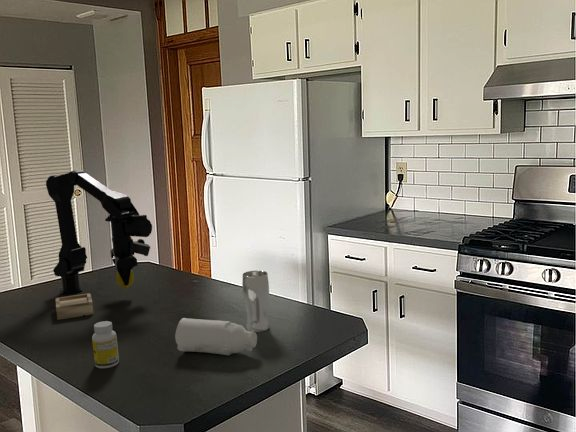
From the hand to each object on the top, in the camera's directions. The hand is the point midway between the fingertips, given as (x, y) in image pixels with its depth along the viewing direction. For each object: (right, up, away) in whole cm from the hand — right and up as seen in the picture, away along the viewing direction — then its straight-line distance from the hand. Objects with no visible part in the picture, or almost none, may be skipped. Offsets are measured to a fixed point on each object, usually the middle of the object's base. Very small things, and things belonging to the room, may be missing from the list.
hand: (125, 283), depth 183 cm
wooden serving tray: (-12, -7, -12) cm, 18 cm away
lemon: (0, -2, 0) cm, 2 cm away
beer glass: (+44, -9, -31) cm, 55 cm away
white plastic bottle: (+35, -11, -46) cm, 59 cm away
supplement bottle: (+10, -13, -51) cm, 53 cm away
